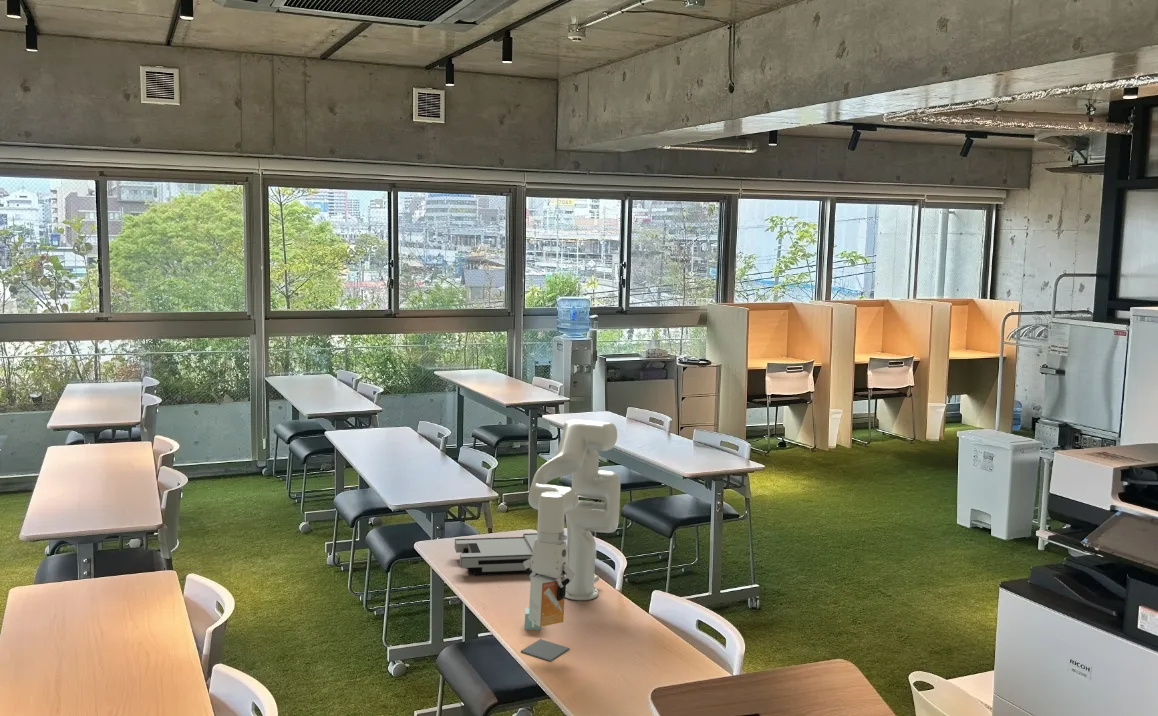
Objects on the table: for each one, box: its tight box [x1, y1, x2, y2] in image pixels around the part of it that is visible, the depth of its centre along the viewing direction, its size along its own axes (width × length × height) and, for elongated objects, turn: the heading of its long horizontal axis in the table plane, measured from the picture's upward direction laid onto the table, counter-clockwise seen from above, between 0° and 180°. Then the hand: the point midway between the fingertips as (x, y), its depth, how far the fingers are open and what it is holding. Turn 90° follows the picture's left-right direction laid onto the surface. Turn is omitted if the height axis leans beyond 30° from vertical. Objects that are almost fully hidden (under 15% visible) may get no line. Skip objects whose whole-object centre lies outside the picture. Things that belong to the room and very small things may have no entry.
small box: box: [529, 574, 566, 628], centre depth 272 cm, size 8×6×13 cm
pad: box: [520, 638, 570, 662], centre depth 274 cm, size 10×10×1 cm
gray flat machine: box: [454, 532, 537, 577], centre depth 342 cm, size 21×32×8 cm, turn 104°
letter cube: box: [524, 606, 542, 631], centre depth 290 cm, size 5×5×5 cm
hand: (547, 595), depth 272 cm, fingers closed on small box, 8 cm apart
